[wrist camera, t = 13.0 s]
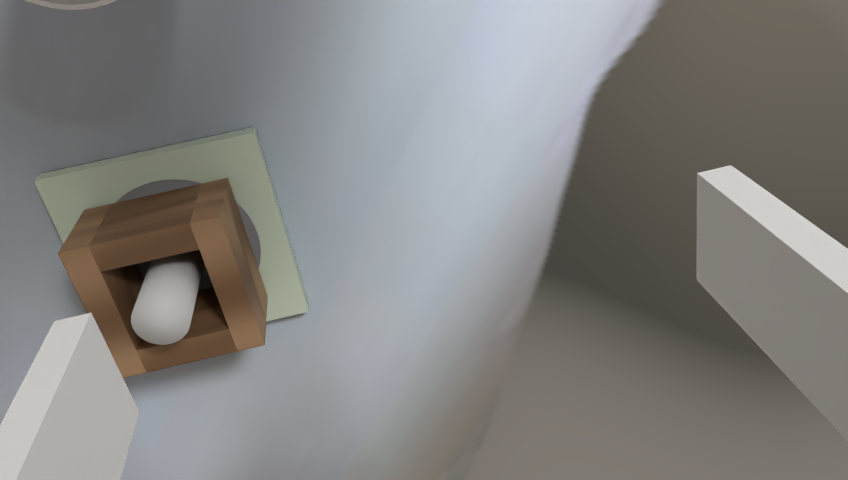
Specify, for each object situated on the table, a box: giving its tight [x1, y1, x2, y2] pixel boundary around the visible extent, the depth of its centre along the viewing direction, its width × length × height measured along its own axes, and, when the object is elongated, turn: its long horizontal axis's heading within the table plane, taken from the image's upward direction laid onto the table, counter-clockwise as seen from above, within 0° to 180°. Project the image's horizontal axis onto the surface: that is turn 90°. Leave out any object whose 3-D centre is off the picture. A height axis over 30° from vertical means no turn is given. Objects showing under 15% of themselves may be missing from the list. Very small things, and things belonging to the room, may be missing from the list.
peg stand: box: [34, 127, 309, 345], centre depth 40 cm, size 12×12×8 cm
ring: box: [58, 178, 268, 378], centre depth 40 cm, size 8×8×5 cm
